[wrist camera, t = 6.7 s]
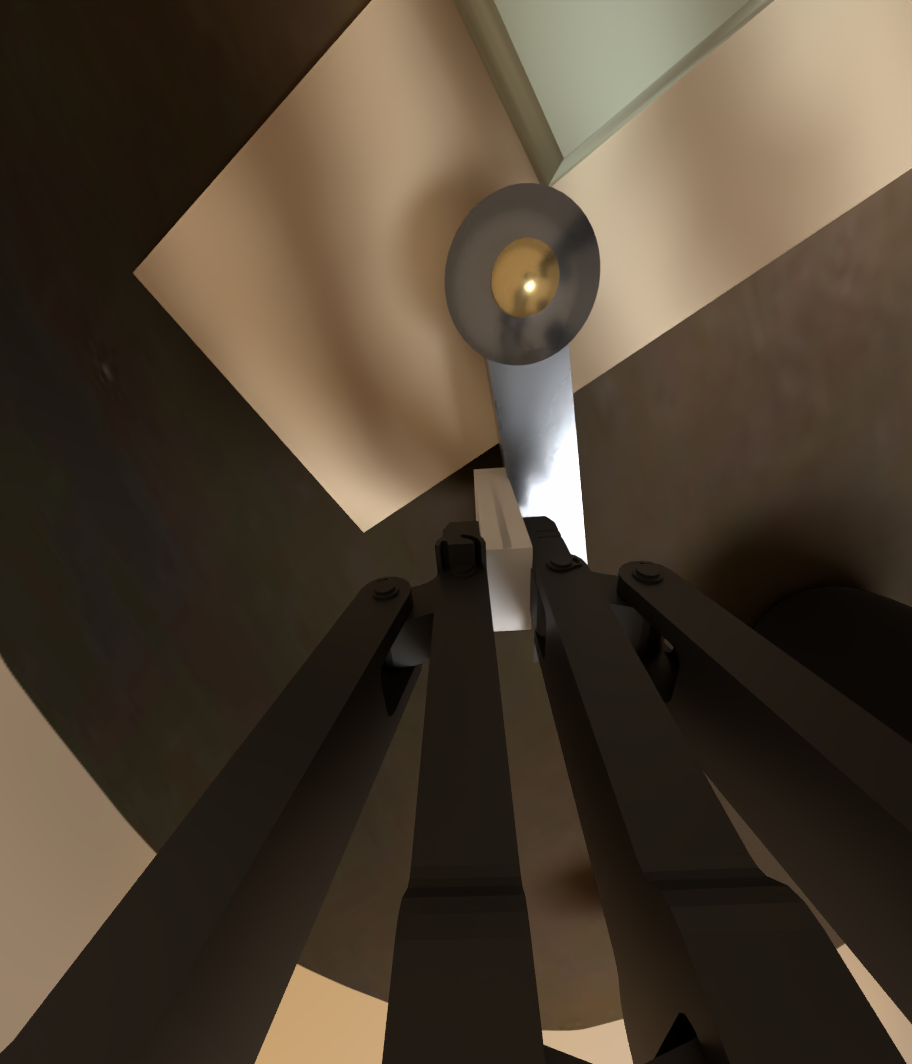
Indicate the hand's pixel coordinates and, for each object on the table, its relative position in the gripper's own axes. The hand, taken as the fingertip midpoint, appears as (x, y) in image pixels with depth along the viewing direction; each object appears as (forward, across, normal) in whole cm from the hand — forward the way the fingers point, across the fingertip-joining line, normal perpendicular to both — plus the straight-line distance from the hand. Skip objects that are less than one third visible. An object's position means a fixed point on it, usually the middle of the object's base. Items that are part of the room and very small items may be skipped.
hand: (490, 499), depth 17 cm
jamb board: (+3, +1, +10) cm, 10 cm away
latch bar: (+1, +2, +2) cm, 3 cm away
